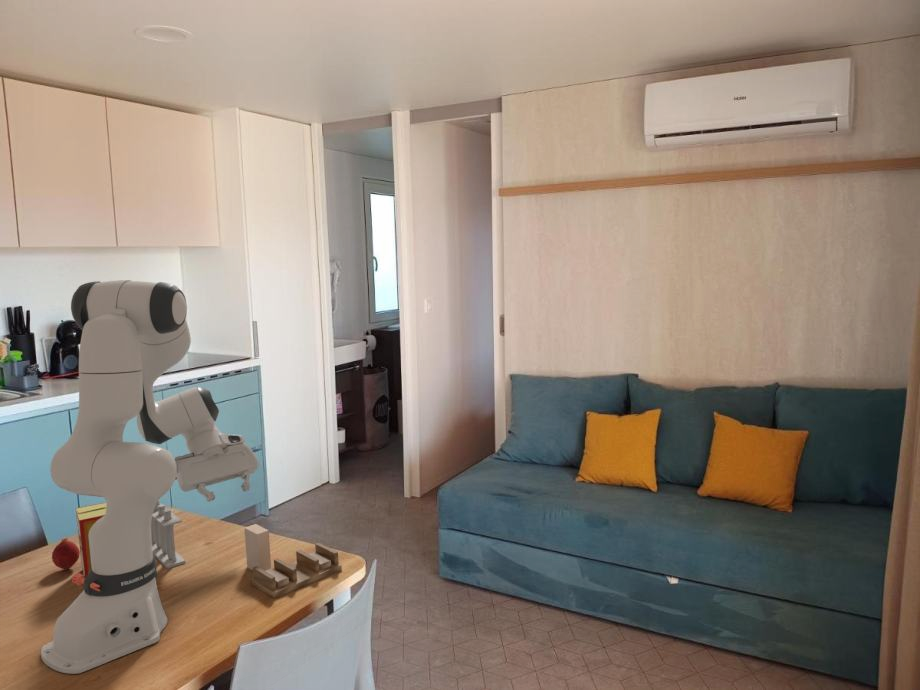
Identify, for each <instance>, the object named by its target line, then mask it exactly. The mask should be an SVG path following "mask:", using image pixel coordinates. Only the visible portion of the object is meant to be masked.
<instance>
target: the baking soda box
mask: <svg viewBox="0 0 920 690" xmlns="http://www.w3.org/2000/svg"><path fill="white" fill-rule="evenodd" d="M106 506H107V504H106V501H105V502H102V503H101V502H100V503H95V504H91V505H86V506H80V507H75V515H76V523H77V525H76V526H77V535H78V536H77V537H78V545H79V552H80V555H79V556H80V563H81V564H80V565H81V570H82V571H83V572H82V575H84V576H86V577H87V575H88V573H89V570H90V568H91V557H90V548H89V538H88V535H89V531H90V529H91V527H92V526H93V525H94V524H95V522H97V521H98V520H99V519H100V518H102V517H103V516H105V513H106Z"/></svg>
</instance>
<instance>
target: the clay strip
mask: <svg viewBox="0 0 920 690" xmlns="http://www.w3.org/2000/svg"><path fill="white" fill-rule="evenodd" d="M243 530H244V541H245V543H244V544H245V556H246V567H247V568H248V569H249V568H250V569H249V570H251V571H253V567H255V566H258V567H259V568H261V569H263V570H264V571H265V570H268V569H271V568H272V563H271V562H272V559H271V558H272V557H271V548H270V547H271V546H270V530H269V529H267V528H265V527H263V526H261V525H259V524H257V523H254V524H252V525H249V526H246V527H244V529H243Z"/></svg>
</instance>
